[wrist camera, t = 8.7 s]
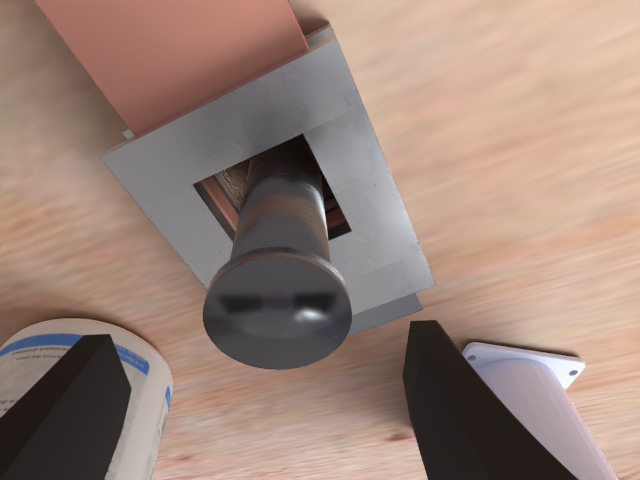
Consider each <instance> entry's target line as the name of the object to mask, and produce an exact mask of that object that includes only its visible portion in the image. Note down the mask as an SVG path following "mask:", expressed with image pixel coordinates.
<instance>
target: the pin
mask: <svg viewBox="0 0 640 480" xmlns="http://www.w3.org/2000/svg"><path fill="white" fill-rule="evenodd" d="M203 322H204V327H205V329H206V332H207V334H208V336H209V337H210V339H211V341H212V342H213V343H214V344H215V345H216V346H217V347H218V348H219V349H220V350H221V351H222V352H223V353H225V354H226V355H228V356H229V357H231V358H233V359H235V360H237V361H239V362H241V363H244V364H247V365H250V366H253V367H258V368H264V369H277V370H279V369H292V368H298V367H302V366H306V365H309V364H312V363H315V362H317V361H319V360H321V359H323V358H325V357H326V356H328V355H329V354H331V353H332V352H334V351H335V350H336V349H337V348H338V347H339V346H340V345H341V344H342V342H343V341H344V340H345V338H346V336H347V335H348V332H349V330H350V327H351V323H352V309H351V303H350V296H349V290H348V287H347V284H346V282H345V280H344V279H343V277H342V276H341V274H340V273H339V272H338V270H337V269H336V268H335V267H334V266H333V265H331V261H330V252H329V243H328V234H327V225H326V216H325V207H324V198H323V189H322V180H321V171H320V166H319V164H318V162H317V160H316V158H315V156H314V154H313V152H312V150H311V148H310V146H309V144H308V142H307V140H306V138H305V136H303V135H301V134H300V135H298V136H296V137H294V138H291V139H289V140H287V141H285V142H283V143H281V144H278V145H276V146H274V147H272V148H270V149H268V150H265V151H263V152H261V153H259V154H257V155H255V156H253V157H251V158H250V163H249V168H248V173H247V178H246V183H245V188H244V193H243V198H242V203H241V208H240V212H239V217H238V222H237V227H236V232H235V237H234V242H233V247H232V252H231V257H230V261H228V262H227V263H226V264H224V265H223V266H222V267H221V268H220V269H219V270H218V271H217V273H216V274H215V275H214V277H213V279H212V280H211V282H210V285H209V288H208V291H207V295H206V299H205V303H204V308H203Z"/></svg>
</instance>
